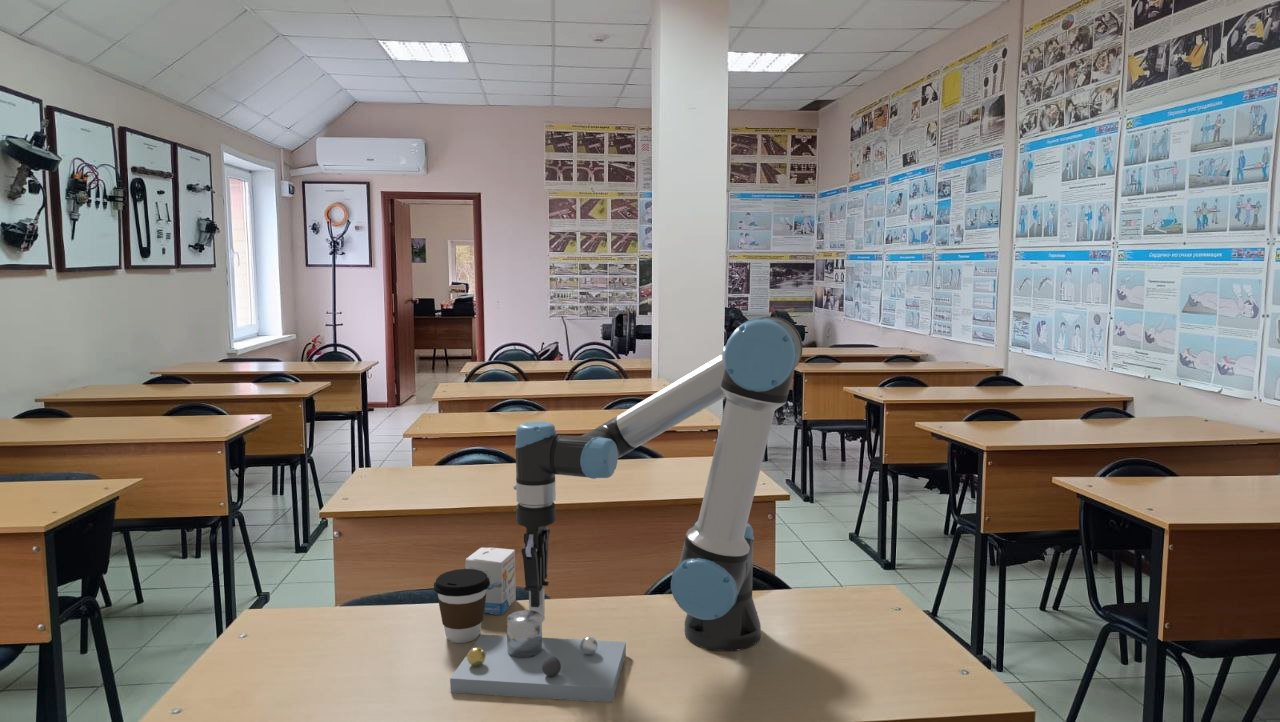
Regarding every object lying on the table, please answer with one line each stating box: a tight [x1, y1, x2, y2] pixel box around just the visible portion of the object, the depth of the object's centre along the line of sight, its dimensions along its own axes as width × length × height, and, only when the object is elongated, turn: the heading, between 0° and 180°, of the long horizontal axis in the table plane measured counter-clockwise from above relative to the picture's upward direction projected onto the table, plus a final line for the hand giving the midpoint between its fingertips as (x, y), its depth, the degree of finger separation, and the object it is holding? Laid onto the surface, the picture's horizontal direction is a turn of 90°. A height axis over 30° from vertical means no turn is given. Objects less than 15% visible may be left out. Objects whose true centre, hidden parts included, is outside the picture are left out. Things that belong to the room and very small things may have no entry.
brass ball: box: [466, 647, 486, 666], centre depth 138 cm, size 3×3×3 cm
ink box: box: [464, 547, 517, 615], centre depth 170 cm, size 9×8×12 cm
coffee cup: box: [433, 568, 490, 644], centre depth 155 cm, size 11×11×12 cm
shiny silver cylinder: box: [506, 609, 543, 657], centre depth 144 cm, size 6×6×6 cm
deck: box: [449, 633, 627, 703], centre depth 141 cm, size 28×17×2 cm, turn 83°
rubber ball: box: [542, 657, 561, 677], centre depth 135 cm, size 3×3×3 cm
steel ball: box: [580, 635, 598, 655], centre depth 143 cm, size 3×3×3 cm
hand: (536, 620), depth 153 cm, fingers closed
